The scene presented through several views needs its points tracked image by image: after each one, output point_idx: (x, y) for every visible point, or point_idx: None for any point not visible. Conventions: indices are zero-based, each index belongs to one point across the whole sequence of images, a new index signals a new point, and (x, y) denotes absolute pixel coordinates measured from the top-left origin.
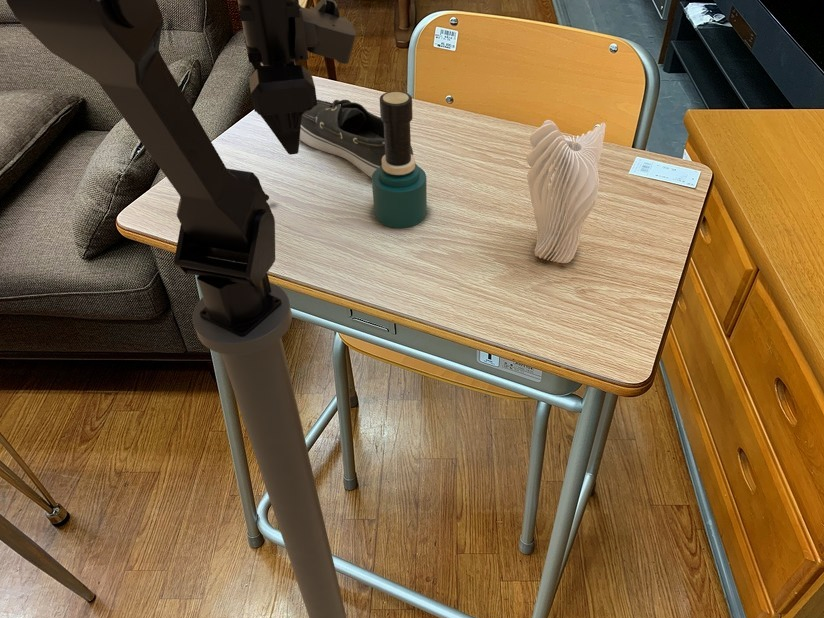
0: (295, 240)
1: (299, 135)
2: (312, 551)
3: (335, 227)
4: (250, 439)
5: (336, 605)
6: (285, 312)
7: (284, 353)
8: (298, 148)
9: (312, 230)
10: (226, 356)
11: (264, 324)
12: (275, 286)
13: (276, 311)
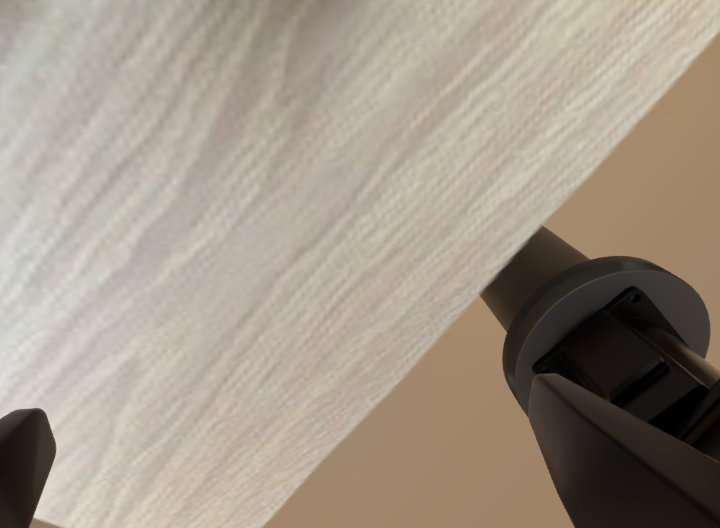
0: (367, 236)
1: (692, 449)
2: None
3: (329, 115)
4: None
5: None
6: (666, 279)
7: (560, 246)
8: (583, 388)
9: (330, 187)
10: None
11: (679, 320)
12: (571, 297)
13: (653, 297)
